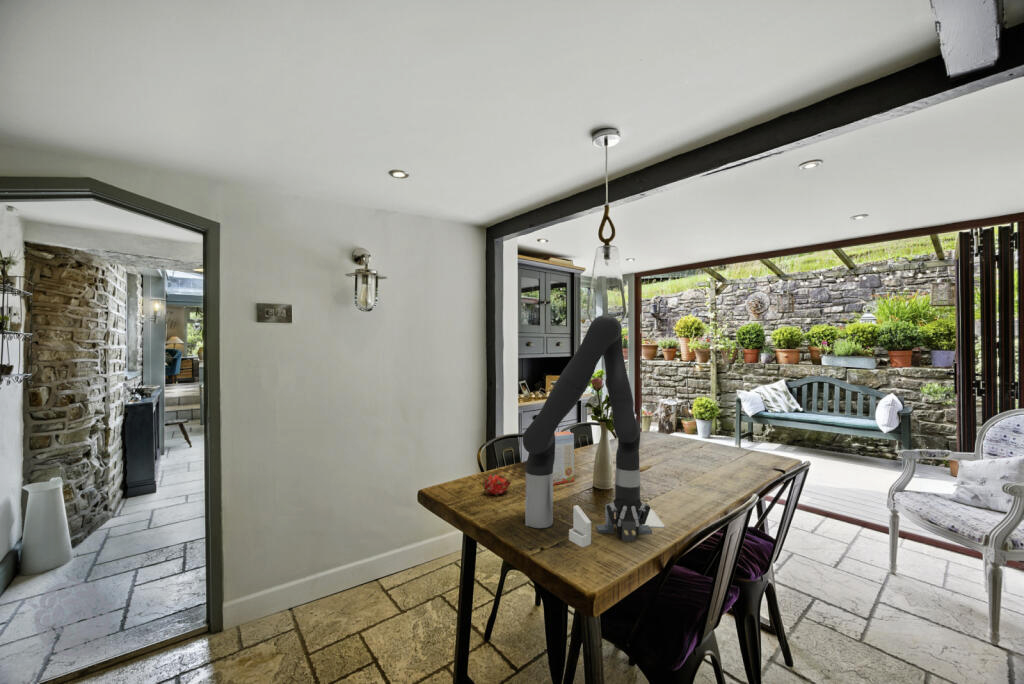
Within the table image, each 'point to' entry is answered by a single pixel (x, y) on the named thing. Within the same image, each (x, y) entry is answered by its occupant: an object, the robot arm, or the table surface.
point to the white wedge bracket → (580, 528)
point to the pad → (653, 520)
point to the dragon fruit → (496, 484)
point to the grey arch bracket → (610, 527)
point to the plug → (628, 528)
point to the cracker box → (563, 458)
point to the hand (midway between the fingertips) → (627, 536)
